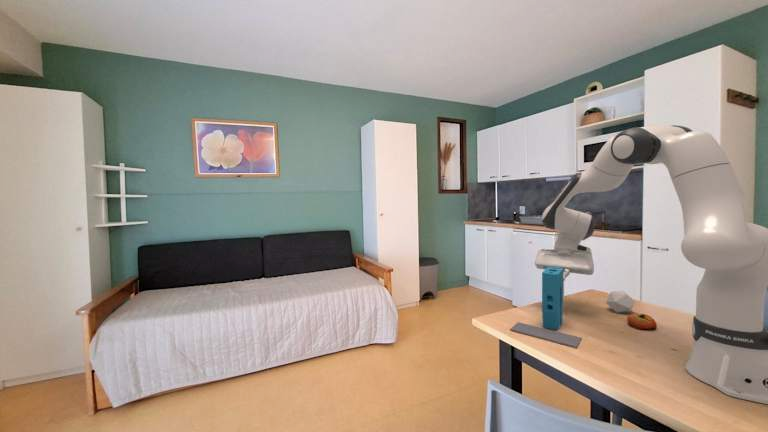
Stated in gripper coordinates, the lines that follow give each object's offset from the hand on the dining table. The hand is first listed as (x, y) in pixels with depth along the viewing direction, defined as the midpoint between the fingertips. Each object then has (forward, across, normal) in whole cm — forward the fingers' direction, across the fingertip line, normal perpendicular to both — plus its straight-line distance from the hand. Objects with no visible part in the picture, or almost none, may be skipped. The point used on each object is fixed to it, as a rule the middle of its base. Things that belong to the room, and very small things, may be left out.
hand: (560, 279), depth 117 cm
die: (-4, +17, +25) cm, 30 cm away
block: (+18, 0, +3) cm, 18 cm away
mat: (+25, 0, -5) cm, 25 cm away
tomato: (+5, +24, +16) cm, 29 cm away
